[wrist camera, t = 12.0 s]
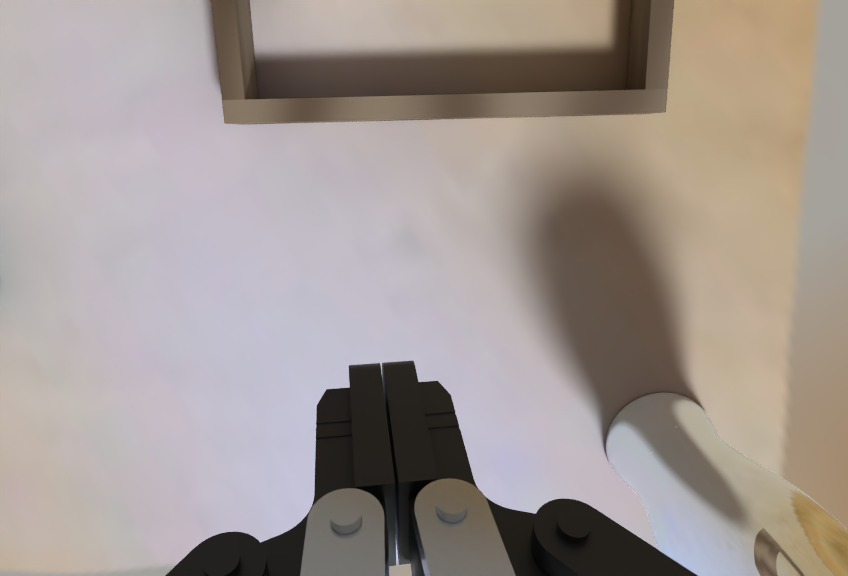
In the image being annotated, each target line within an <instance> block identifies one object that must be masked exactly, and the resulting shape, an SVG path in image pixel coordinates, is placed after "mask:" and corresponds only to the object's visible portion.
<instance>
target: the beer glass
mask: <svg viewBox="0 0 848 576" xmlns="http://www.w3.org/2000/svg"><path fill="white" fill-rule="evenodd" d="M606 453H607V458H608V461H609V463H610V465H611V467H612V469H613V470H614V472H615V473H616V474H617V476H618V477H619V478H620V479H621V480H622V481H623V482H624V483H625V484H626V485H627V486H628V487H630V488H631V489H632V490H633V491H634V492H635V493H636V495H637V496H638V497H639V499H640V501H641V502H642V504H643V506H644V509H645V512H646V515H647V517H648V520H649V524H650V527H651V530H652V533H653V536H654V539H655V542H656V545H657V548H658V550H659V551H661V552H662V553H664V554H665V555H667V556H668V557H670V558H671V559H673V560H674V561H676V562H678V563H679V564H681V565H682V566H684V567H685V568H687V569H688V570H690V571H691V572H693V573H695V574H696V575H698V576H848V530H847V529H846V528H845V527H844V526H843V525H842V524H841V523H840V522H839V521H838V520H837V519H836V518H834V517H833V516H832V515H831V514H830V513H829V512H827V511H826V510H825V509H824V508H823V507H821V506H820V505H819V504H818V503H817V502H815V501H814V500H813V499H812V498H811V497H809V496H808V495H807V494H805V493H804V492H802V491H801V490H799V489H798V488H796V487H795V486H794V485H792V484H791V483H789V482H788V481H786V480H785V479H784V478H782V477H780V476H779V475H777V474H775V473H774V472H772V471H771V470H769V469H767V468H766V467H764V466H762V465H761V464H759V463H757V462H756V461H754V460H752V459H751V458H749V457H747V456H746V455H744V454H742V453H741V452H739V451H738V450H736V449H735V448H733V447H731V446H730V445H729V444H728V443H727V442H725V441H724V440H723V438H722V437H721V436H720V435H719V433H718V432H717V430H716V428H715V426H714V425H713V423H712V421H711V420H710V418H709V417H708V415H707V414H706V412H705V411H704V410H703V409H702V408H701V407H700V406H699V405H698V404H697V403H696V402H694V401H693V400H691V399H689V398H687V397H685V396H682V395H679V394H675V393H666V392H663V393H653V394H649V395H645V396H643V397H640V398H638V399H636V400H634V401H632V402H631V403H629V404H628V405H627V406H625V407H624V408H623V409H622V410H621V411H620V412H619V413H618V414H617V416H616V417H615V418H614V420H613V421H612V423H611V425H610V428H609V430H608V433H607V438H606Z"/></svg>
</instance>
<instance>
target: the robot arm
mask: <svg viewBox="0 0 848 576" xmlns="http://www.w3.org/2000/svg"><path fill="white" fill-rule="evenodd" d="M349 379H350V388H340V389H327V390H326V391H325V393H324V395H323V396H322V398H321V400H320V401H319V403H318V405H317V421H316V424H317V427H316V461H315V496H314V502H313V505H312V507H311V509H310V511H309V513H308V514H307V516H306V517H305V518H304V519H303V520H302V521H301V522H300V523H299V524H298V525H297V526H295V527H294V528H292V529H291V530H289V531H287V532H285V533H283V534H281V535H279V536H276V537H274V538H271V539H269V540H266V541H264V542H261V543H260V542H259V541H258V540H257V539H256V538H254V537H253V536H251V535H249V534H246V533H242V532H226V533H221V534H218V535H215V536H212V537H210V538H208V539H206V540H205V541H203V542H202V543H200V544H199V545H198V546H197V547H195V548H194V549H193V550H192V551H191V552H190V553H189V554H188V555H187V556H186V557H185V558H184V559H183V560H181V561H180V562H179V563H178V564H177V565H176V566H175V567H174V568H173V569H172V570H171V571H170V572H169V573H168V574H167V575H166V576H389V566H394V565H396V541H397V550H398V559H399V565H401V564H409V563H411V570H412V576H698V575H696V574H695V573H693V572H691V571H690V570H688V569H687V568H685V567H684V566H682V565H681V564H679V563H678V562H676V561H674V560H673V559H671V558H670V557H668V556H667V555H665V554H664V553H662V552H661V551H659V550H658V549H656V548H654V547H653V546H651V545H650V544H648V543H647V542H645V541H644V540H642V539H641V538H639V537H638V536H636V535H634V534H633V533H631V532H630V531H628V530H627V529H625V528H624V527H622V526H621V525H619V524H618V523H616V522H614V521H613V520H611V519H610V518H608V517H607V516H605V515H604V514H602V513H601V512H599V511H598V510H596V509H594V508H593V507H591V506H589V505H588V504H585V503H583V502H581V501H577V500H573V499H556V500H552V501H549V502H548V503H546V504H544V505H543V506H542V507H540V509H539V510H538V511H537V513H536V514H533V513H528V512H522V511H517V510H512V509H508V508H504V507H502V506H499V505H497V504H495V503H493V502H492V501H490V500H489V499H487V498H486V497H485V496H484V495H483V493H482V492H481V491H480V490H479V489H478V488H477V486H476V484H475V482H474V479H473V475H472V472H471V468H470V464H469V461H468V457H467V453H466V450H465V446H464V442H463V439H462V435H461V431H460V429H459V424H458V420H457V417H456V415H455V409H454V406H453V402H452V398H451V395H450V394H449V393H448V392H447V391H446V390H445V388H444V387H443V386H442V385H441V384H440V383H439V382H438V381H430V382H418V378H417V374H416V369H415V364H414V361H403V362H388V363H382V374H381V366H380V363H376V364H362V365H349Z"/></svg>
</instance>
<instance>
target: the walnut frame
mask: <svg viewBox="0 0 848 576" xmlns="http://www.w3.org/2000/svg"><path fill="white" fill-rule="evenodd" d="M212 9H213V19H214V28H215V38H216V47H217V57H218V66H219V75H220V85H221V94H222V104H223V113H224V123H227V124H274V123H314V122H353V121H392V120H432V119H471V118H510V117H550V116H589V115H629V114H651V113H662V112H666V102H667V89H668V76H669V62H670V49H671V36H672V22H673V9H674V0H631V16H630V33H629V51H628V68H627V85H626V90H607V91H567V92H527V93H487V94H447V95H407V96H367V97H327V98H287V99H258V88H257V77H256V66H255V55H254V44H253V33H252V22H251V11H250V0H212Z"/></svg>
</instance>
